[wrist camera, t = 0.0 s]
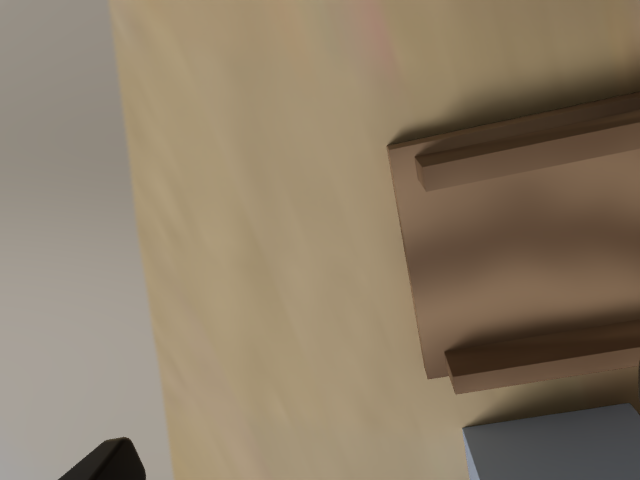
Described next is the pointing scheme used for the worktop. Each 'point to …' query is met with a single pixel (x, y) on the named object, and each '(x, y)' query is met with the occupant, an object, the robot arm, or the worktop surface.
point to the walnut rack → (525, 244)
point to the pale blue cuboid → (558, 446)
